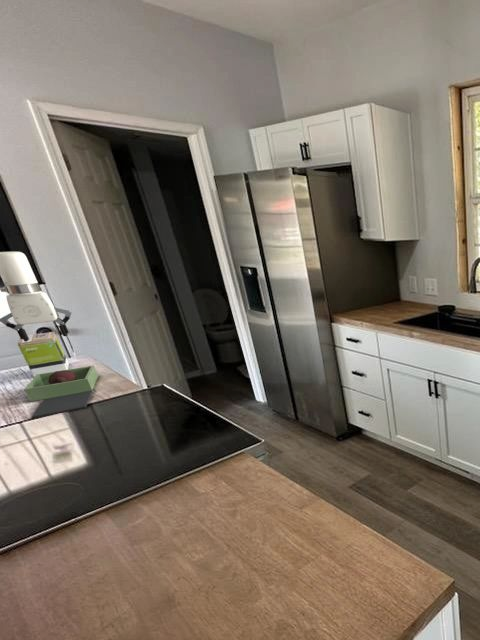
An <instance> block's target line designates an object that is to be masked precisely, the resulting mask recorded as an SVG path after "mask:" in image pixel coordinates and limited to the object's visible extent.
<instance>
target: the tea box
mask: <svg viewBox="0 0 480 640" xmlns="http://www.w3.org/2000/svg"><path fill="white" fill-rule="evenodd" d="M27 336H28V338H29V340H28V341H26V342H25V341H24V340H23V339H21V338H20V337H19V340H18V342H17V346H18V348H19V350H20V352H21V354H22V357H23V358H24V360H25V362H26V364H27V366H28V368H29V371H30V372H31V374H32V376H33V378H34V377H35V376H36V375H37V374H43V373H50V372H56V371H62V370H69V365H70V363H69V360H68V359H67V356H66V354H65V351H64V349H63V348H62V345H61V344H60V341H59V339H58V337H57V335H56V333H55V331H49V332H43V333H42V332H41V333H35V334H27Z"/></svg>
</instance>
